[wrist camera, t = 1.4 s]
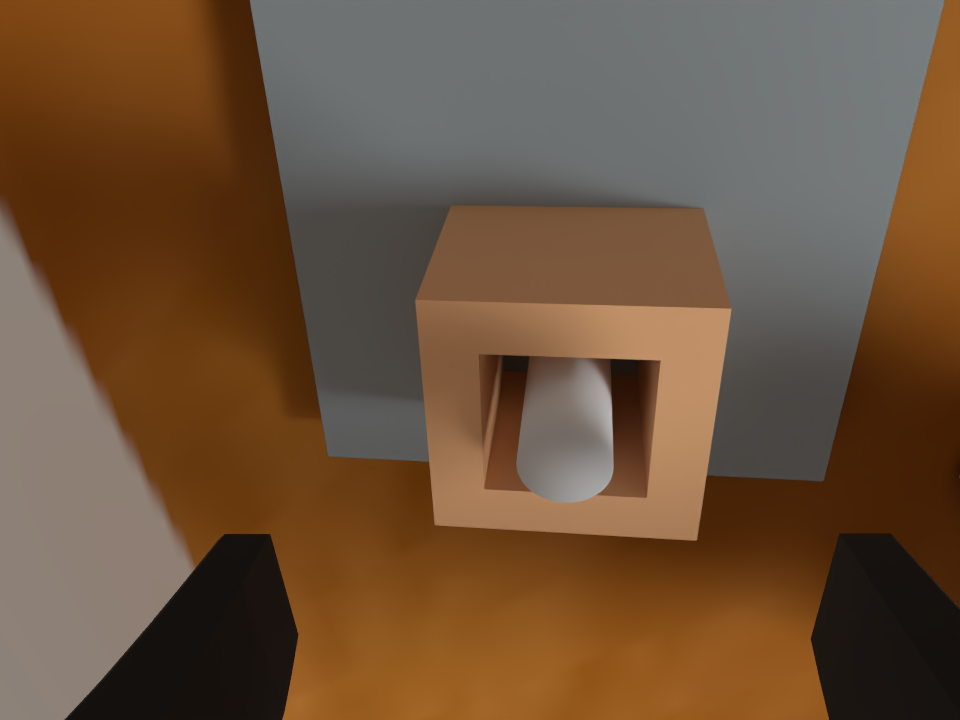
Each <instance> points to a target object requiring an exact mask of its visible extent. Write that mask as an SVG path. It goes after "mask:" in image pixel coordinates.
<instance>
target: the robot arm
mask: <svg viewBox="0 0 960 720" xmlns="http://www.w3.org/2000/svg"><path fill="white" fill-rule="evenodd" d="M959 477H960V476H959ZM297 640H298V632H297V628H296V625H295V621H294V618H293V614H292V610H291V607H290V603H289V600H288V596H287V593H286V589H285V585H284V582H283V578H282V575H281V571H280V568H279V564H278V561H277V557H276V553H275V550H274V546H273V543H272V539H271V536H270V534H224V535H223V536H222V537H221V538H220V539H219V540H218V541H217V543H216V544H215V545H214V546H213V547H212V549H211V550H210V551H209V552H208V554H207V555H206V556H205V557H204V559H203V560H202V561H201V562H200V563H199V565H198V566H197V567H196V568H195V570H194V571H193V572H192V573H191V575H190V576H189V577H188V578H187V580H186V581H185V582H184V583H183V584H182V586H181V587H180V588H179V589H178V591H177V592H176V593H175V594H174V595H173V597H172V598H171V599H170V600H169V602H168V603H167V604H166V605H165V606H164V608H163V609H162V610H161V611H160V612H159V614H158V615H157V616H156V617H155V618H154V620H153V621H152V622H151V623H150V624H149V626H148V627H147V628H146V629H145V630H144V631H143V633H142V634H141V635H140V636H139V637H138V638H137V640H136V641H135V642H134V643H133V644H132V646H130V648H129V649H128V650H127V651H126V652H125V653H124V655H123V656H122V657H121V658H120V659H119V661H118V662H117V663H116V664H115V665H114V666H113V667H112V668H111V670H110V671H109V672H108V673H107V674H106V675H105V677H104V678H103V679H102V680H101V681H100V682H99V683H98V684H97V686H96V687H95V688H94V689H93V690H92V691H91V692H90V693H89V694H88V695H87V696H86V697H85V698H84V700H83V701H82V702H81V703H80V704H79V705H78V706H77V707H76V708H75V709H74V710H73V711H72V712H71V713H70V715H69V716H68V717H67V718H66V719H65V720H282V718H283V715H284V711H285V706H286V701H287V696H288V690H289V685H290V680H291V675H292V669H293V663H294V657H295V651H296V645H297ZM811 642H812V646H813V651H814V656H815V660H816V665H817V669H818V674H819V679H820V683H821V687H822V691H823V696H824V700H825V704H826V708H827V712H828V716H829V720H960V608H959V607H958V606H957V605H956V604H955V603H954V602H953V601H952V600H951V599H950V597H949V596H948V595H947V594H946V593H945V592H944V591H943V590H942V589H941V588H940V587H939V586H938V584H937V583H936V582H935V581H934V580H933V579H932V578H931V577H930V576H929V575H928V573H927V572H926V571H925V570H924V569H923V568H922V567H921V566H920V565H919V564H918V563H917V561H916V560H915V559H914V558H913V557H912V556H911V555H910V554H909V553H908V552H907V551H906V549H905V548H904V547H903V546H902V545H901V544H900V543H899V542H898V541H897V540H896V539H895V538H894V537H893V536H892V535H891V534H839V537H838V541H837V544H836V548H835V552H834V555H833V559H832V563H831V566H830V570H829V574H828V578H827V581H826V585H825V589H824V592H823V596H822V600H821V603H820V607H819V611H818V614H817V618H816V622H815V626H814V629H813V633H812V637H811Z"/></svg>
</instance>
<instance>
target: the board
mask: <svg viewBox="0 0 960 720" xmlns="http://www.w3.org/2000/svg"><path fill="white" fill-rule="evenodd" d="M944 1H945V0H250V5H251V10H252V16H253V22H254V28H255V34H256V40H257V45H258V51H259V57H260V63H261V69H262V74H263V80H264V86H265V92H266V98H267V104H268V109H269V115H270V121H271V127H272V133H273V138H274V144H275V150H276V156H277V162H278V168H279V173H280V179H281V185H282V191H283V197H284V202H285V208H286V214H287V220H288V226H289V232H290V237H291V243H292V249H293V255H294V261H295V266H296V272H297V278H298V284H299V290H300V296H301V301H302V307H303V313H304V319H305V325H306V331H307V336H308V342H309V348H310V354H311V360H312V365H313V371H314V377H315V383H316V389H317V395H318V400H319V406H320V412H321V418H322V424H323V429H324V435H325V441H326V447H327V453H328V457H346V458H366V459H386V460H406V461H426V462H429V453H428V441H427V430H426V418H425V407H424V395H423V384H422V372H421V360H420V349H419V337H418V326H417V314H416V303H415V300H416V297H417V294H418V292H419V289H420V286H421V284H422V281H423V278H424V276H425V273H426V270H427V268H428V265H429V262H430V260H431V257H432V255H433V252H434V249H435V247H436V244H437V241H438V239H439V236H440V233H441V231H442V228H443V225H444V223H445V220H446V217H447V215H448V212H449V210H450V207H451V205H472V206H547V207H622V208H697V209H704V212H705V215H706V219H707V222H708V226H709V230H710V233H711V237H712V240H713V244H714V247H715V251H716V255H717V258H718V262H719V265H720V269H721V272H722V276H723V280H724V283H725V287H726V290H727V294H728V297H729V301H730V305H731V308H732V310H731V316H730V323H729V330H728V336H727V343H726V350H725V356H724V363H723V370H722V376H721V383H720V390H719V396H718V403H717V410H716V416H715V423H714V430H713V436H712V443H711V450H710V456H709V463H708V470H707V476H726V477H746V478H766V479H786V480H806V481H824V477H825V473H826V469H827V465H828V461H829V457H830V453H831V449H832V445H833V441H834V437H835V433H836V429H837V425H838V421H839V418H840V414H841V410H842V406H843V402H844V398H845V394H846V390H847V386H848V382H849V378H850V374H851V370H852V366H853V362H854V358H855V354H856V350H857V346H858V342H859V338H860V334H861V330H862V326H863V322H864V318H865V314H866V310H867V306H868V302H869V298H870V294H871V290H872V286H873V282H874V279H875V275H876V271H877V267H878V263H879V259H880V255H881V251H882V247H883V243H884V239H885V235H886V231H887V227H888V223H889V219H890V215H891V211H892V207H893V203H894V199H895V195H896V191H897V187H898V183H899V179H900V175H901V171H902V167H903V163H904V159H905V155H906V151H907V147H908V144H909V140H910V136H911V132H912V128H913V124H914V120H915V116H916V112H917V108H918V104H919V100H920V96H921V92H922V88H923V84H924V80H925V76H926V72H927V68H928V64H929V60H930V56H931V52H932V48H933V44H934V40H935V36H936V32H937V28H938V24H939V20H940V16H941V12H942V8H943V5H944ZM503 356H504V371H511V372H527V380H526V388H525V396H524V404H523V412H522V420H521V428H520V436H519V444H518V452H517V461H516V466H517V472H518V475H519V477H520V479H521V480H522V482H523V483H524V485H525V486H526V487H527V488H528V489H529V490H531V491H532V492H533V493H535V494H536V495H538V496H540V497H542V498H545V499H548V500H551V501H555V502H563V503H571V502H579V501H583V500H586V499H589V498H591V497H593V496H595V495H597V494H598V493H600V492H601V491H602V490H603V489H604V488H605V487H606V486H607V485H608V483H609V482H610V480H611V478H612V475H613V469H614V465H613V429H612V393H611V375H620V376H638V365H639V360H633V359H604V358H575V357H546V356H517V355H503Z"/></svg>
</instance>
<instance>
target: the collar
mask: <svg viewBox="0 0 960 720" xmlns="http://www.w3.org/2000/svg"><path fill="white" fill-rule="evenodd" d="M415 303H416V314H417V326H418V337H419V349H420V360H421V372H422V384H423V395H424V407H425V418H426V430H427V441H428V453H429V464H430V476H431V487H432V499H433V510H434V522H435V525H439V526H456V527H473V528H489V529H506V530H523V531H540V532H557V533H574V534H591V535H608V536H625V537H642V538H659V539H676V540H693V541H697V536H698V529H699V523H700V516H701V509H702V503H703V496H704V489H705V483H706V476H707V470H708V463H709V456H710V450H711V443H712V436H713V430H714V423H715V416H716V410H717V403H718V396H719V390H720V383H721V376H722V370H723V363H724V356H725V350H726V343H727V336H728V330H729V323H730V316H731V310H732V308H731V305H730V301H729V297H728V294H727V290H726V287H725V283H724V280H723V276H722V272H721V269H720V265H719V262H718V258H717V255H716V251H715V247H714V244H713V240H712V237H711V233H710V230H709V226H708V222H707V219H706V215H705V212H704V209H697V208H622V207H547V206H472V205H451V207H450V210H449V212H448V215H447V217H446V220H445V223H444V225H443V228H442V231H441V233H440V236H439V239H438V241H437V244H436V247H435V249H434V252H433V255H432V257H431V260H430V262H429V265H428V268H427V270H426V273H425V276H424V278H423V281H422V284H421V286H420V289H419V292H418V294H417V297H416V300H415ZM503 355H517V356H546V357H575V358H604V359H633V360H639V365H638V376H620V375H611V393H612V429H613V465H614V469H613V475H612V478H611V480H610V482H609V483H608V485H607V486H606V487H605V488H604V489H603V490H602V491H601V492H600V493H598V494H597V495H595V496H593V497H591V498H589V499H586V500H583V501H579V502H571V503H563V502H555V501H551V500H548V499H545V498H542V497H540V496H538V495H536V494H535V493H533V492H532V491H531V490H529V489H528V488H527V487H526V486H525V485H524V483H523V482H522V480H521V479H520V477H519V475H518V472H517V466H516V461H517V452H518V444H519V436H520V428H521V420H522V412H523V404H524V396H525V388H526V380H527V372H511V371H504V356H503Z"/></svg>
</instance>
